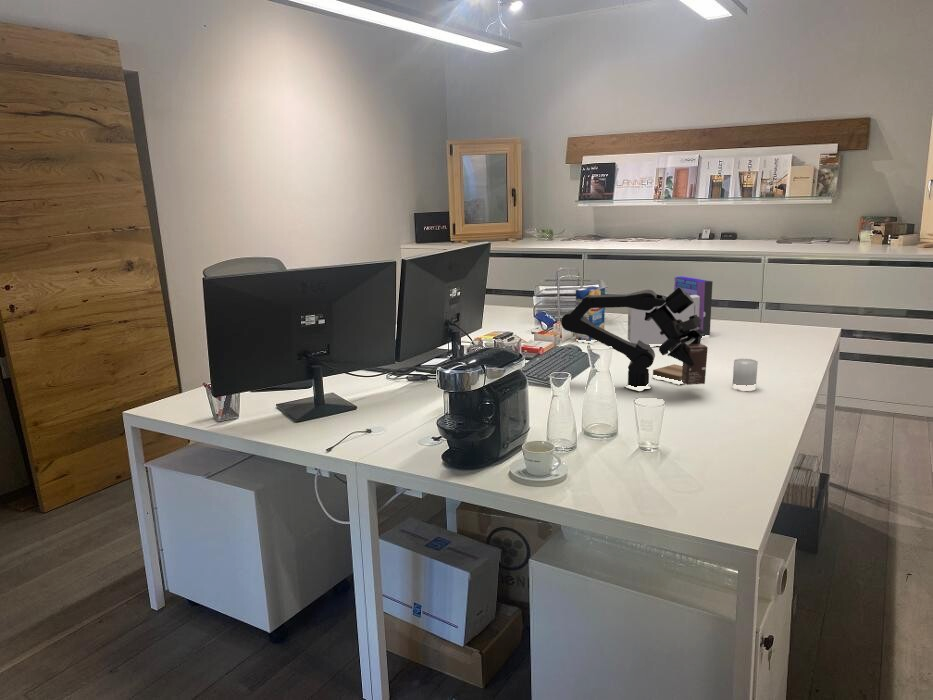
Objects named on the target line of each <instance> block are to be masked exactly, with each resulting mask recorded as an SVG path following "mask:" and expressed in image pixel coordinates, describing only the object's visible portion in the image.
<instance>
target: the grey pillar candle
mask: <svg viewBox="0 0 933 700" xmlns="http://www.w3.org/2000/svg"><path fill="white" fill-rule="evenodd" d="M732 371H733V372H732V384H733V383H734V384H736V385H746V386H747V385H754V384H756V385H757V379H758V378H757V377H758V375H757V374H758V360H755V359H752V358H736V359H734V360H733V370H732Z"/></svg>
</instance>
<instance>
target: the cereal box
mask: <svg viewBox="0 0 933 700" xmlns="http://www.w3.org/2000/svg"><path fill="white" fill-rule="evenodd" d="M673 281H674V283H673V284H674V285H673V291H675V289H676V288H677V287H680V288H681V289H683V290H684V291H685V292H686V293H688V294H689V295H698V296H700V305H699V306H700V307H699V318H700V319H701V320H702V321H701V323H700V324H701V327H698V328H699V329H701V330H702V331H703V332H704V334H703V335H702V336H705V335H710V336H711V317H712V301H713V280H706V279H701V278H699V279H698V278H694V277H687V276H675V277H674V280H673Z"/></svg>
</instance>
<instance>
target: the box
mask: <svg viewBox="0 0 933 700" xmlns="http://www.w3.org/2000/svg"><path fill="white" fill-rule="evenodd" d="M685 350H686V351H687V353H688V355H689V356H690V358H691V359H692V361H693V363H694V365H693V366H689V365H688V364H686V363H684V362H682V366H683V369H682V382H683V383H684V384H683V385H687V386H688V385H689V386H690V385H705V384H706V373H707V372H706V370H707V360H708V359H707V357H708V346H707V345H705V344H704V343H700V344H687V345H685Z"/></svg>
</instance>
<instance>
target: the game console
mask: <svg viewBox="0 0 933 700" xmlns="http://www.w3.org/2000/svg"><path fill="white" fill-rule="evenodd" d="M690 297H691V298H692V299H693V301H694V303H693V304H692V305H690V306H689V307H688V308H687V309H685V310H684V311H683V312H681V313H680V314H678V313H675V314H674V313H673V312H672V311H671V310H670V309H669V308H668V306H667V308H668V310H669V311H670V312H671V313H672V315H673V316H674V317H675V318H676V320H678V319H680V320H682V322H684V321H687V320H689V317H690V316H693V315H697V316H698V317H699V307H700V306H699V305H700V296H698V295H690ZM664 304H665V303H664ZM664 304H663V305H664ZM663 305H662V306H663ZM660 307H661V306H658V308H660ZM627 308H628V310H627V311H628V312H627V341H628V342H631V343H636V344H637V342H638V340H640V341H642V342H643V343H644V344H647V345H649V344H663V343H664V342H665V341H666V340H667V337H666V336H665V335H661V334H660V332H661V330H660V328H659V327H658V326H657V324H656V323H655V322H654V321H653V319H651V320H650V321H645V315H646V314H645V313H646V312H648V313H650V312H651V311H652V310H653V309H655V308H656V307H654V308H653V309H651V310H648V311H645V310H638V309H633V308H629V307H627ZM697 328H698V327H697Z"/></svg>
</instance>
